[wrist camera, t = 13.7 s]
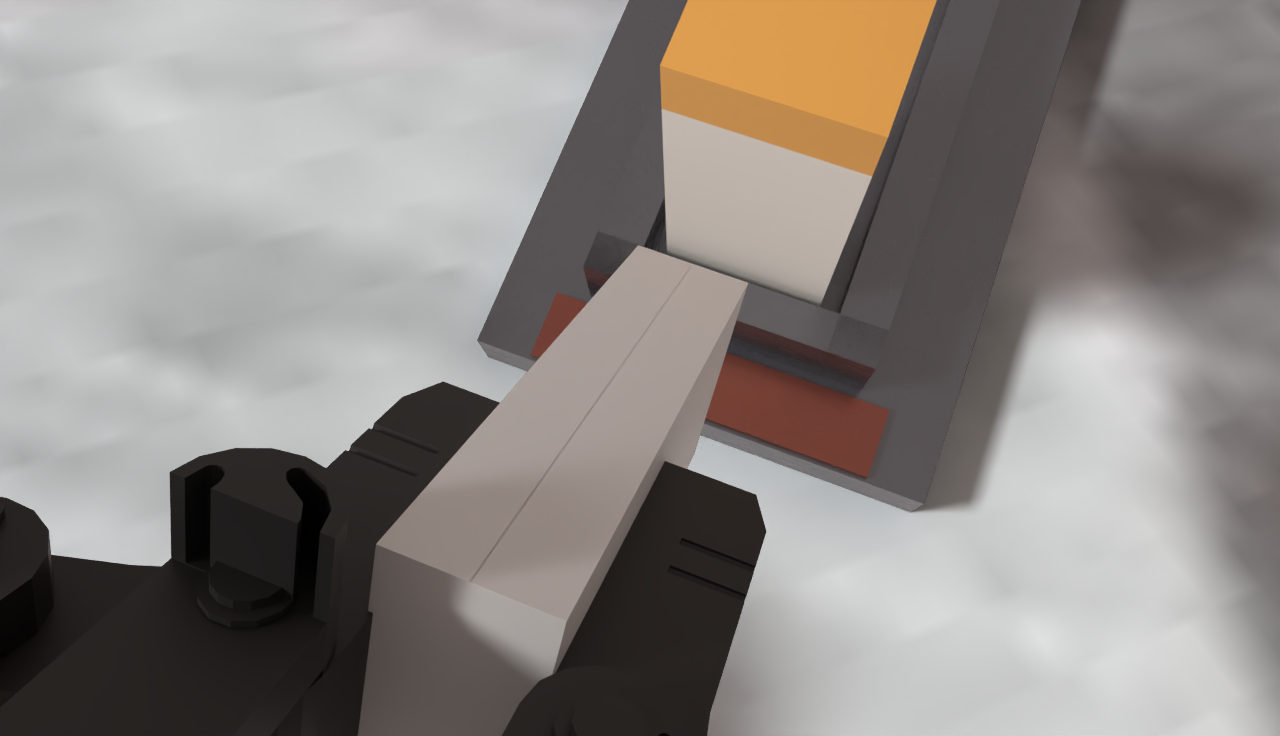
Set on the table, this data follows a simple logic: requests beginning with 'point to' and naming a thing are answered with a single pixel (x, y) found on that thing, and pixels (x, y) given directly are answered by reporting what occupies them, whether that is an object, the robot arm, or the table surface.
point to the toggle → (779, 130)
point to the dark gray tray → (867, 268)
